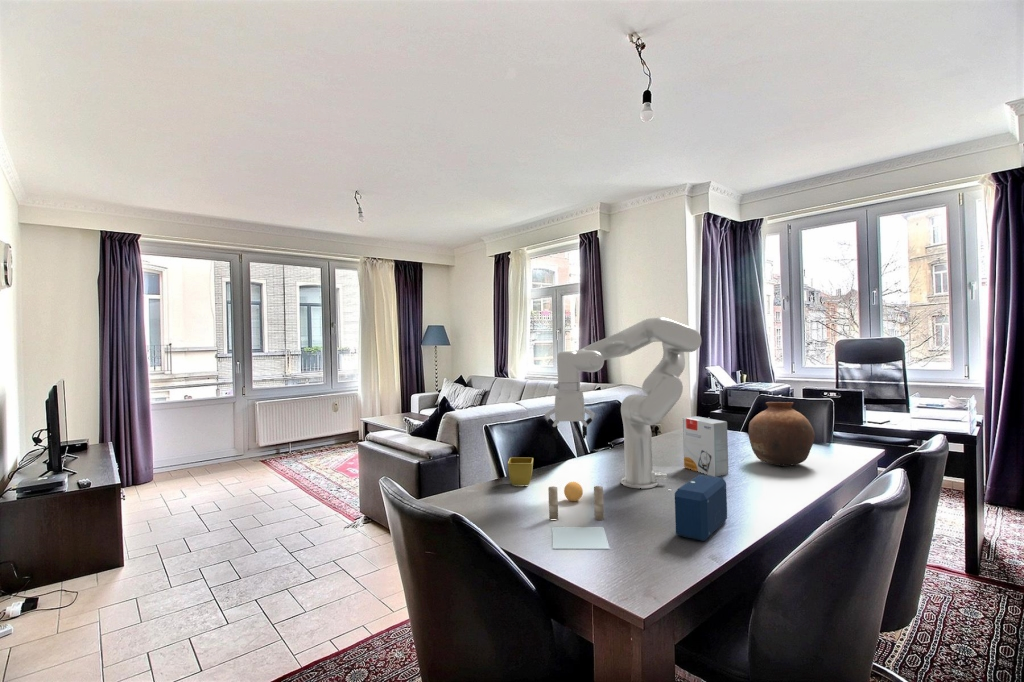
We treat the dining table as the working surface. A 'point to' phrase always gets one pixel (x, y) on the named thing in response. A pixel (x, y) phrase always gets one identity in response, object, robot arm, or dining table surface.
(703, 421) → the hard drive box
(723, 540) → the dining table surface
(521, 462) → the flower pot
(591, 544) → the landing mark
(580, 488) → the ball
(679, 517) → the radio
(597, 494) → the post
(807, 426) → the pottery
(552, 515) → the post
